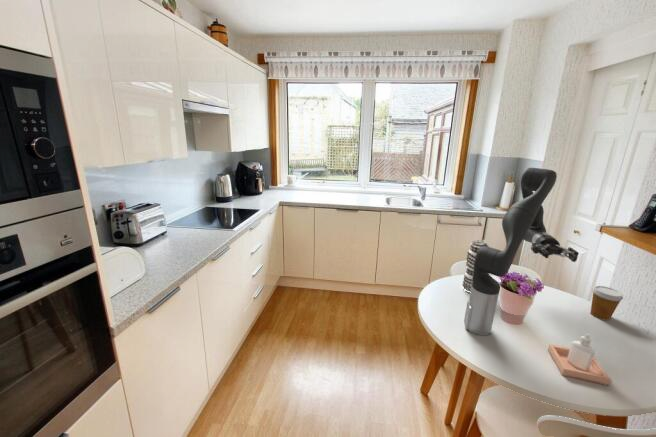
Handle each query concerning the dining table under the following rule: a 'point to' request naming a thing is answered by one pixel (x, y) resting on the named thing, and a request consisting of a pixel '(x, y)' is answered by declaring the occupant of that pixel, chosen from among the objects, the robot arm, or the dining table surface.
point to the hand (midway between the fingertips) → (561, 257)
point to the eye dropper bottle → (581, 353)
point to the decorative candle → (471, 263)
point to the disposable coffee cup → (604, 302)
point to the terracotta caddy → (566, 369)
